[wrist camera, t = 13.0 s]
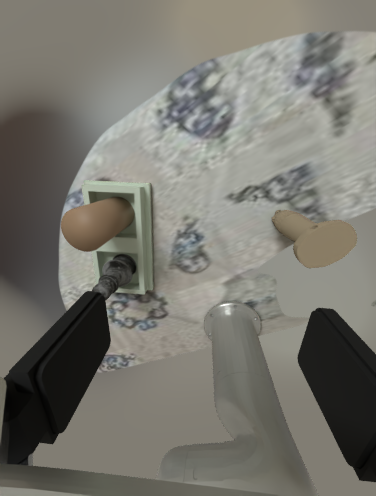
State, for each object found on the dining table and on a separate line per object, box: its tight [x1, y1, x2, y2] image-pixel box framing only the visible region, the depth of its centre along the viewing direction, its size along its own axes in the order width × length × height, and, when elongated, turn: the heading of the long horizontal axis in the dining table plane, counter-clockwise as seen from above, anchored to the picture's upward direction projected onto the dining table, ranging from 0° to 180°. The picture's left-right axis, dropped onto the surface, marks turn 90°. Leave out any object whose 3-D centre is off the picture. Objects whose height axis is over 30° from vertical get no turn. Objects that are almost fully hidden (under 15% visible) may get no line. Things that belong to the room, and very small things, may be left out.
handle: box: [272, 210, 357, 268], centre depth 30 cm, size 5×6×15 cm
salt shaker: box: [92, 254, 137, 300], centre depth 36 cm, size 6×6×12 cm
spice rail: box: [61, 180, 154, 295], centre depth 35 cm, size 22×12×13 cm, turn 178°
